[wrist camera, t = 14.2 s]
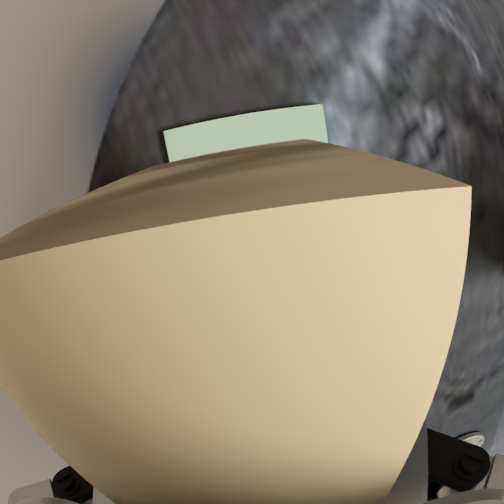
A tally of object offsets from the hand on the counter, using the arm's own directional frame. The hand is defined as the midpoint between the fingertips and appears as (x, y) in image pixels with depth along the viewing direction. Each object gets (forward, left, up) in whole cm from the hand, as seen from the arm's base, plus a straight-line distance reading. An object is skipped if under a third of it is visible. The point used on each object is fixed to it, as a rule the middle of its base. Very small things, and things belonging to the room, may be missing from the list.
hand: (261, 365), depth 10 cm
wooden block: (0, 0, -2) cm, 2 cm away
